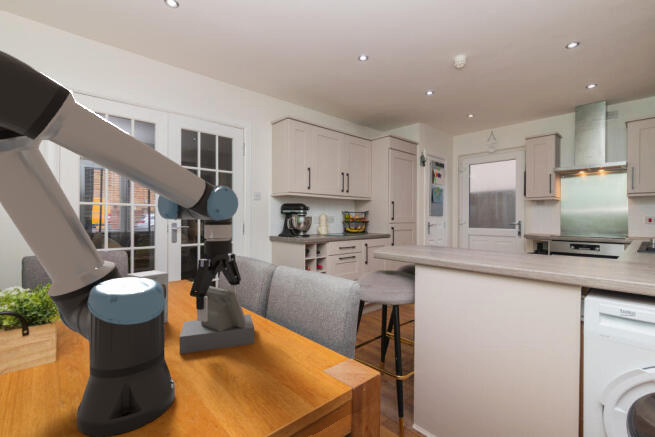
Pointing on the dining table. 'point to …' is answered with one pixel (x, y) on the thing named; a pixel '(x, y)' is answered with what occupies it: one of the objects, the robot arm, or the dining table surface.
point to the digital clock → (223, 310)
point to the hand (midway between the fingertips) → (218, 313)
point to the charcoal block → (214, 336)
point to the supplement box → (159, 277)
